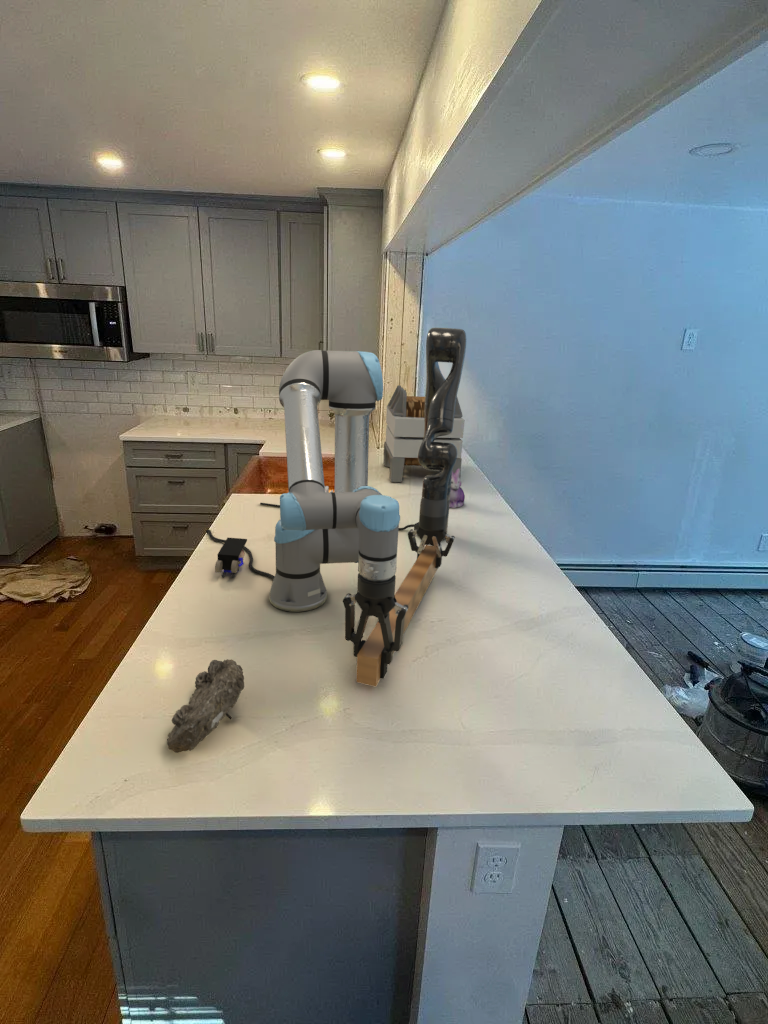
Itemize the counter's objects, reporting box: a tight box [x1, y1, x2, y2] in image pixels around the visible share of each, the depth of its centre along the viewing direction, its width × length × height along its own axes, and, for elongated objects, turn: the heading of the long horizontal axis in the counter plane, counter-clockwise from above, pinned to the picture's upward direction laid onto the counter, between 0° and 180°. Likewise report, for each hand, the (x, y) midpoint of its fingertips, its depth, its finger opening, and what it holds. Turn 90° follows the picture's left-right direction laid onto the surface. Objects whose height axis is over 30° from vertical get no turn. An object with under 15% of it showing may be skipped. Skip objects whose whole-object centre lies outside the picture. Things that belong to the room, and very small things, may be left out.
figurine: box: [449, 468, 466, 509], centre depth 230 cm, size 9×10×15 cm
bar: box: [355, 545, 438, 688], centre depth 142 cm, size 60×4×7 cm, turn 163°
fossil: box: [166, 658, 245, 754], centre depth 106 cm, size 22×10×15 cm
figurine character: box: [214, 537, 248, 578], centre depth 166 cm, size 7×8×15 cm
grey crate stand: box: [383, 384, 465, 483], centre depth 268 cm, size 34×33×41 cm
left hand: (372, 672), depth 120 cm, fingers closed on bar, 4 cm apart
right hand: (428, 565), depth 166 cm, fingers closed on bar, 4 cm apart
